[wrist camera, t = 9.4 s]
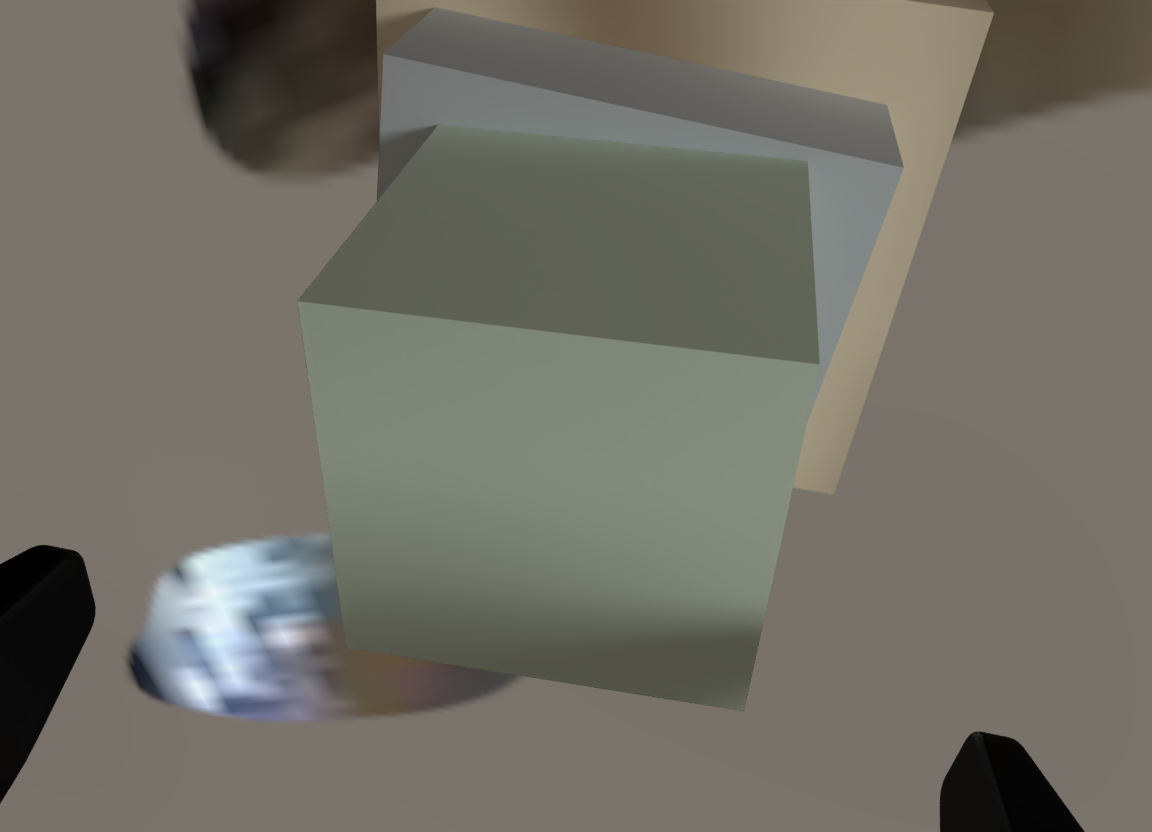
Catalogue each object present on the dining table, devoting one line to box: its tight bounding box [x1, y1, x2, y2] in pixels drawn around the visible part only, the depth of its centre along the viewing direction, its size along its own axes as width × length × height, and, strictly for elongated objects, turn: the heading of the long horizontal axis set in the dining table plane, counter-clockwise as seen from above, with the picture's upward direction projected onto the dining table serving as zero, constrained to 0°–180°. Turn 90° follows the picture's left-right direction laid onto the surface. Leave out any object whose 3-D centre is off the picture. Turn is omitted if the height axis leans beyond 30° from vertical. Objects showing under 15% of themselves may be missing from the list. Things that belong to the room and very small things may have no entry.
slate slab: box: [377, 7, 904, 422], centre depth 16 cm, size 7×7×2 cm
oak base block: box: [376, 0, 994, 495], centre depth 18 cm, size 9×9×4 cm
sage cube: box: [297, 125, 820, 711], centre depth 13 cm, size 5×5×5 cm
